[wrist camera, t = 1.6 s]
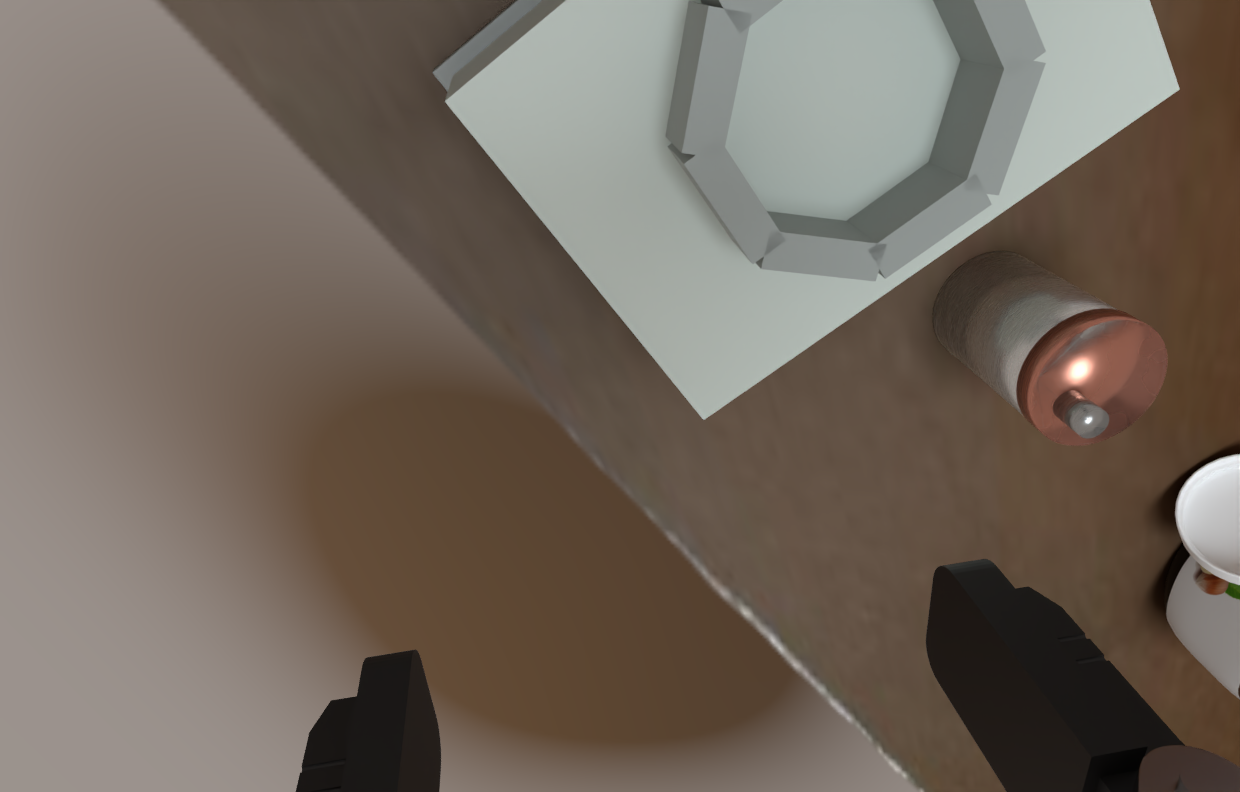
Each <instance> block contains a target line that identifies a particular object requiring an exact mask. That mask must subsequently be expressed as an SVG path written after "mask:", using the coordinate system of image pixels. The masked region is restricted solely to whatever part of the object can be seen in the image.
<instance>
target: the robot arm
mask: <svg viewBox="0 0 1240 792" xmlns="http://www.w3.org/2000/svg"><path fill="white" fill-rule="evenodd" d="M926 648H927V654H928V658H929V662H930V665H931V668H932V671H933V673H934V675H935V677H936V679H937V681H938V683H939V684H940V686H941V687H942V689H943V691H944V692H945V694H946V695H947V697H948V699H949V700H950V702H951V703H952V705H953V707H954V708H955V710H956V711H957V713H958V714H959V716H960V718H961V719H962V721H963V722H964V724H965V726H966V727H967V729H968V730H969V732H970V734H971V735H972V737H973V738H974V740H975V742H976V743H977V745H978V746H979V748H980V750H981V751H982V753H983V754H984V756H985V758H986V759H987V761H988V762H989V764H990V766H991V767H992V769H993V770H994V772H995V774H996V775H997V777H998V778H999V780H1000V782H1001V783H1002V785H1003V786H1004V788H1005V790H1006V791H1007V792H1240V768H1239V767H1238V766H1237V765H1235V764H1233V763H1232V762H1230V761H1228V760H1227V759H1225V758H1223V757H1221V756H1218V755H1216V754H1214V753H1211V752H1209V751H1206V750H1203V749H1199V748H1195V747H1191V746H1185V745H1184V744H1183V743H1182V742H1181V741H1180V740H1179V739H1178V738H1177V736H1176V735H1175V734H1174V733H1173V732H1172V731H1171V730H1170V729H1169V727H1168V726H1167V725H1166V724H1165V723H1164V722H1163V721H1162V720H1161V718H1160V717H1159V716H1158V715H1157V714H1156V713H1155V712H1154V711H1153V709H1152V708H1151V707H1150V706H1149V705H1148V704H1147V703H1146V702H1145V700H1144V699H1143V698H1142V697H1141V696H1140V695H1139V694H1138V693H1137V691H1136V690H1135V689H1134V688H1133V687H1132V686H1131V685H1130V684H1129V682H1128V681H1127V680H1126V679H1125V678H1124V677H1123V676H1122V675H1121V673H1120V672H1119V671H1118V670H1117V669H1116V668H1115V667H1114V666H1113V664H1112V663H1111V662H1110V661H1106V660H1105V658H1104V654H1103V653H1102V652H1101V651H1100V650H1099V649H1098V648H1097V646H1096V645H1095V644H1094V643H1093V642H1092V641H1091V640H1090V639H1086V637H1085V633H1084V632H1083V631H1082V630H1081V628H1080V627H1079V626H1078V625H1077V624H1076V623H1075V622H1074V621H1073V619H1072V618H1071V617H1070V616H1069V615H1068V614H1067V613H1066V612H1065V610H1064V609H1063V608H1062V607H1060V606H1059V605H1057V604H1056V603H1054V602H1052V601H1051V600H1049V599H1048V598H1046V597H1044V596H1043V595H1041V594H1040V593H1038V592H1037V591H1035V590H1033V589H1032V588H1030V587H1023V588H1017V589H1015V588H1014V587H1013V585H1012V584H1011V583H1010V582H1009V581H1008V579H1007V578H1006V577H1005V576H1004V575H1003V573H1002V572H1001V571H1000V570H999V569H998V568H997V566H996V565H995V564H994V563H993V562H991V561H990V560H987V559H981V560H975V561H969V562H962V563H956V564H950V565H944V566H939V567H938V568H937V569H936V570H935V573H934V577H933V584H932V592H931V601H930V609H929V617H928V626H927V634H926ZM440 771H441V746H440V736H439V728H438V722H437V718H436V714H435V710H434V707H433V703H432V699H431V695H430V691H429V688H428V684H427V680H426V676H425V673H424V669H423V665H422V661H421V658H420V655H419V653H418V651H417V650H410V651H404V652H398V653H392V654H386V655H380V656H374V657H368V658H366V659H365V660H364V662H363V666H362V671H361V677H360V682H359V688H358V694H357V696H356V697H350V698H344V699H339V700H332V701H330V703H329V705H328V706H327V707H326V709H325V710H324V712H323V713H322V715H321V716H320V718H319V719H318V721H317V722H316V724H315V725H314V727H313V728H312V730H311V731H310V733H309V737H308V741H307V746H306V750H305V754H304V759H303V763H302V773H300V776H299V780H298V785H297V789H296V792H439V787H440Z"/></svg>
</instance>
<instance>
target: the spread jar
mask: <svg viewBox="0 0 1240 792" xmlns="http://www.w3.org/2000/svg"><path fill="white" fill-rule="evenodd" d="M1175 518H1176V524H1177V528H1178V532H1179V535H1180V537H1181V540H1182V542H1183V545H1182V546H1181V548H1180V549H1179V550H1178V552H1177V554H1176V555H1175V557H1174V559H1173V561H1172V563H1171V566H1170V568H1169V571H1168V574H1167V578H1166V583H1165V589H1164V608H1165V613H1166V617H1167V621H1168V623H1169V625H1170V626H1171V628H1172V630H1173V632H1174V633H1175V635H1176V636H1177V637H1178V639H1179V640H1180V641H1181V643H1182V644H1183V645H1184V646H1185V647H1186V648H1187V649H1188V650H1189V651H1190V653H1191V654H1192V655H1193V656H1194V657H1195V658H1196V659H1197V660H1198V661H1199V662H1200V663H1201V664H1202V665H1203V666H1204V667H1205V668H1206V669H1207V670H1208V671H1209V672H1210V673H1211V674H1212V675H1213V676H1214V677H1215V678H1216V679H1217V680H1218V681H1219V682H1220V683H1221V684H1222V685H1224V686H1225V687H1226V688H1227V689H1228V690H1229V691H1230V692H1231V693H1232V694H1234V695H1235V696H1236V697H1237V698H1239V699H1240V454H1234V455H1230V456H1226V457H1222V458H1219V459H1217V460H1214V461H1212V462H1210V463H1207V464H1206V465H1204V466H1203V467H1201V468H1200V469H1198V470H1197V471H1195V472H1194V473H1193V474H1192V475H1191V476H1190V477H1189V478H1188V479H1187V480H1186V482H1185V483H1184V485H1183V486H1182V488H1181V490H1180V491H1179V494H1178V497H1177V500H1176V505H1175Z"/></svg>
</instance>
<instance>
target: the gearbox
mask: <svg viewBox="0 0 1240 792" xmlns="http://www.w3.org/2000/svg"><path fill="white" fill-rule="evenodd" d="M432 73H433V74H434V75H435V77H436V78H437V79H438V80H439V82H440V83H441V84H442V85H443V87H444V88H445V89H446V90H447V91H448V92H447V96H446V99H445V102H446V104H447V105H448V106H449V107H450V108H451V110H452V111H453V112H454V113H455V115H456V116H457V117H458V118H459V120H460V121H461V122H462V123H463V124H464V126H465V127H466V128H467V129H468V131H469V132H470V133H471V134H472V136H473V137H474V138H475V139H476V140H477V142H478V143H479V144H480V145H481V147H482V148H483V149H484V150H485V152H486V153H487V154H488V155H489V156H490V158H491V159H492V160H493V161H494V163H495V164H496V165H497V166H498V168H499V169H500V170H501V171H502V172H503V174H504V175H505V176H506V177H507V179H508V180H509V181H510V182H511V184H512V185H513V186H514V187H515V188H516V190H517V191H518V192H519V193H520V195H521V196H522V197H523V198H524V200H525V201H526V202H527V203H528V204H529V206H530V207H531V208H532V209H533V211H534V212H535V213H536V214H537V216H538V217H539V218H540V219H541V220H542V222H543V223H544V224H545V225H546V227H547V228H548V229H549V230H550V232H551V233H552V234H553V235H554V236H555V238H556V239H557V240H558V241H559V243H560V244H561V245H562V246H563V248H564V249H565V250H566V251H567V252H568V254H569V255H570V256H571V257H572V259H573V260H574V261H575V262H576V264H577V265H578V266H579V267H580V268H581V270H582V271H583V272H584V273H585V275H586V276H587V277H588V278H589V280H590V281H591V282H592V283H593V284H594V286H595V287H596V288H597V289H598V291H599V292H600V293H601V294H602V296H603V297H604V298H605V299H606V300H607V302H608V303H609V304H610V305H611V307H612V308H613V309H614V310H615V312H616V313H617V314H618V315H619V316H620V318H621V319H622V320H623V321H624V323H625V324H626V325H627V326H628V328H629V329H630V330H631V331H632V332H633V334H634V335H635V336H636V337H637V339H638V340H639V341H640V342H641V344H642V345H643V346H644V347H645V348H646V350H647V351H648V352H649V353H650V355H651V356H652V357H653V358H654V360H655V361H656V362H657V363H658V364H659V366H660V367H661V368H662V369H663V371H664V372H665V373H666V374H667V376H668V377H669V378H670V379H671V380H672V382H673V383H674V384H675V385H676V387H677V388H678V389H679V390H680V392H681V393H682V394H683V395H684V396H685V398H686V399H687V400H688V401H689V403H690V404H691V405H692V406H693V408H694V409H695V410H696V411H697V412H698V414H699V415H700V416H701V417H702V419H703V420H705V419H706V418H707V417H709V416H710V415H712V414H713V413H715V412H716V411H717V410H719V409H720V408H722V407H723V406H725V405H726V404H728V403H729V402H730V401H732V400H733V399H735V398H736V397H738V396H739V395H741V394H742V393H743V392H745V391H746V390H748V389H749V388H751V387H752V386H753V385H755V384H756V383H758V382H759V381H761V380H762V379H764V378H765V377H766V376H768V375H769V374H771V373H772V372H774V371H775V370H776V369H778V368H779V367H781V366H782V365H784V364H785V363H787V362H788V361H789V360H791V359H792V358H794V357H795V356H797V355H798V354H800V353H801V352H802V351H804V350H805V349H807V348H808V347H810V346H811V345H812V344H814V343H815V342H817V341H818V340H820V339H821V338H823V337H824V336H825V335H827V334H828V333H830V332H831V331H833V330H834V329H835V328H837V327H838V326H840V325H841V324H843V323H844V322H846V321H847V320H848V319H850V318H851V317H853V316H854V315H856V314H857V313H859V312H860V311H861V310H863V309H864V308H866V307H867V306H869V305H870V304H871V303H873V302H874V301H876V300H877V299H879V298H880V297H882V296H883V295H884V294H886V293H887V292H889V291H890V290H892V289H893V288H894V287H896V286H897V285H899V284H900V283H902V282H903V281H905V280H906V279H907V278H909V277H910V276H912V275H913V274H915V273H916V272H917V271H919V270H920V269H922V268H923V267H925V266H926V265H928V264H929V263H930V262H932V261H933V260H935V259H936V258H938V257H939V256H941V255H942V254H943V253H945V252H946V251H948V250H949V249H951V248H952V247H953V246H955V245H956V244H958V243H959V242H961V241H962V240H964V239H965V238H966V237H968V236H969V235H971V234H972V233H974V232H975V231H976V230H978V229H979V228H981V227H982V226H984V225H985V224H987V223H988V222H989V221H991V220H992V219H994V218H995V217H997V216H998V215H1000V214H1001V213H1002V212H1004V211H1005V210H1007V209H1008V208H1010V207H1011V206H1012V205H1014V204H1015V203H1017V202H1018V201H1020V200H1021V199H1023V198H1024V197H1025V196H1027V195H1028V194H1030V193H1031V192H1033V191H1034V190H1035V189H1037V188H1038V187H1040V186H1041V185H1043V184H1044V183H1046V182H1047V181H1048V180H1050V179H1051V178H1053V177H1054V176H1056V175H1057V174H1058V173H1060V172H1061V171H1063V170H1064V169H1066V168H1067V167H1069V166H1070V165H1071V164H1073V163H1074V162H1076V161H1077V160H1079V159H1080V158H1082V157H1083V156H1084V155H1086V154H1087V153H1089V152H1090V151H1092V150H1093V149H1094V148H1096V147H1097V146H1099V145H1100V144H1102V143H1103V142H1105V141H1106V140H1107V139H1109V138H1110V137H1112V136H1113V135H1115V134H1116V133H1117V132H1119V131H1120V130H1122V129H1123V128H1125V127H1126V126H1128V125H1129V124H1130V123H1132V122H1133V121H1135V120H1136V119H1138V118H1139V117H1141V116H1142V115H1143V114H1145V113H1146V112H1148V111H1149V110H1151V109H1152V108H1153V107H1155V106H1156V105H1158V104H1159V103H1161V102H1162V101H1164V100H1165V99H1166V98H1168V97H1169V96H1171V95H1172V94H1174V93H1175V92H1176V91H1178V90H1179V86H1178V83H1177V80H1176V77H1175V74H1174V71H1173V68H1172V65H1171V62H1170V59H1169V56H1168V53H1167V50H1166V47H1165V44H1164V42H1163V39H1162V36H1161V33H1160V30H1159V27H1158V24H1157V21H1156V18H1155V15H1154V12H1153V9H1152V6H1151V3H1150V0H515V1H514V2H513V3H512V4H511V5H510V6H508V7H507V8H506V9H505V10H504V11H502V12H501V13H500V14H499V15H498V16H497V17H495V18H494V19H493V20H492V21H491V22H489V23H488V24H487V25H486V26H485V27H484V28H482V29H481V30H480V31H479V32H478V33H476V34H475V35H474V36H473V37H472V38H471V39H469V40H468V41H467V42H466V43H465V44H463V45H462V46H461V47H460V48H459V49H457V50H456V51H455V52H454V53H453V54H452V55H450V56H449V57H448V58H447V59H446V60H444V61H443V62H442V63H441V64H440V65H439V66H437V67H436V68H435V69H434V70H433V72H432Z"/></svg>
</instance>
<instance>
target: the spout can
mask: <svg viewBox="0 0 1240 792" xmlns="http://www.w3.org/2000/svg"><path fill="white" fill-rule="evenodd" d="M933 328H934V331H935V334H936V336H937V338H938V340H939V342H940V343H941V344H942V345H943V346H944V347H945V348H946V349H947V350H948V351H949V352H950V353H951V354H953V355H954V356H955V357H956V358H957V359H958V360H960V361H961V362H962V363H963V364H964V365H965V366H967V367H968V368H969V369H970V370H971V371H972V372H974V373H975V374H976V375H977V376H978V377H979V378H981V379H982V380H983V381H984V382H985V383H986V384H987V385H989V386H990V387H991V388H992V389H993V390H994V391H996V392H997V393H998V394H999V395H1000V396H1001V397H1003V398H1004V399H1005V400H1006V401H1007V402H1008V403H1010V404H1011V405H1012V406H1013V407H1014V408H1015V409H1017V410H1018V411H1019V412H1020V413H1021V414H1022V415H1023V416H1024V417H1025V418H1026V419H1027V420H1028V421H1029V422H1030V423H1031V424H1032V425H1033V426H1034V427H1035V428H1037V429H1038V430H1039V431H1040V432H1041V433H1042V434H1043V435H1045V436H1046V437H1047V438H1049V439H1050V440H1052V441H1055V442H1057V443H1060V444H1064V445H1071V446H1081V445H1089V444H1093V443H1097V442H1100V441H1103V440H1106V439H1108V438H1110V437H1112V436H1114V435H1116V434H1118V433H1120V432H1121V431H1123V430H1124V429H1126V428H1127V427H1129V426H1130V425H1131V424H1133V423H1134V422H1135V421H1136V420H1137V419H1138V418H1139V417H1140V416H1141V415H1142V414H1143V413H1144V412H1145V411H1146V410H1147V409H1148V408H1149V406H1150V405H1151V404H1152V402H1153V401H1154V399H1155V398H1156V396H1157V394H1158V393H1159V391H1160V389H1161V386H1162V384H1163V382H1164V378H1165V375H1166V370H1167V351H1166V347H1165V344H1164V342H1163V340H1162V338H1161V336H1160V335H1159V334H1158V333H1157V331H1156V330H1154V329H1153V328H1152V327H1151V326H1149V325H1147V324H1145V323H1144V322H1142V321H1140V320H1138V319H1136V318H1135V317H1133V316H1131V315H1129V314H1128V313H1126V312H1123V311H1120V310H1117V309H1116V308H1114V307H1112V306H1110V305H1109V304H1107V303H1105V302H1103V301H1101V300H1100V299H1098V298H1096V297H1094V296H1093V295H1091V294H1089V293H1087V292H1086V291H1084V290H1082V289H1080V288H1078V287H1077V286H1075V285H1073V284H1071V283H1070V282H1068V281H1066V280H1064V279H1062V278H1061V277H1059V276H1057V275H1055V274H1054V273H1052V272H1050V271H1048V270H1046V269H1045V268H1043V267H1041V266H1039V265H1038V264H1036V263H1034V262H1032V261H1030V260H1029V259H1027V258H1025V257H1023V256H1022V255H1019V254H1017V253H1014V252H1009V251H994V252H989V253H985V254H982V255H979V256H977V257H975V258H973V259H971V260H969V261H968V262H966V263H964V264H963V265H962V266H960V267H959V268H958V269H957V270H956V271H955V272H954V273H953V274H952V275H951V276H950V277H949V278H948V279H947V281H946V282H945V283H944V285H943V286H942V288H941V290H940V292H939V293H938V296H937V298H936V301H935V305H934V309H933Z"/></svg>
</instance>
